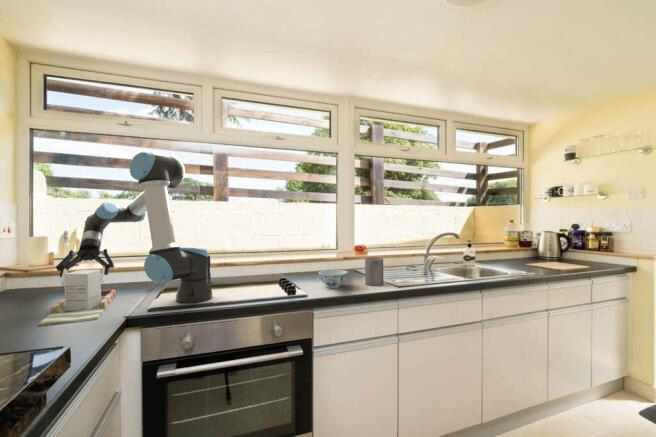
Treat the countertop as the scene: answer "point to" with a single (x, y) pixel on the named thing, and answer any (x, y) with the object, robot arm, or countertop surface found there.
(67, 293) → the supplement box
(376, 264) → the pillar candle
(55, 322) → the track
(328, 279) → the chinaware
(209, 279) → the storage jar
